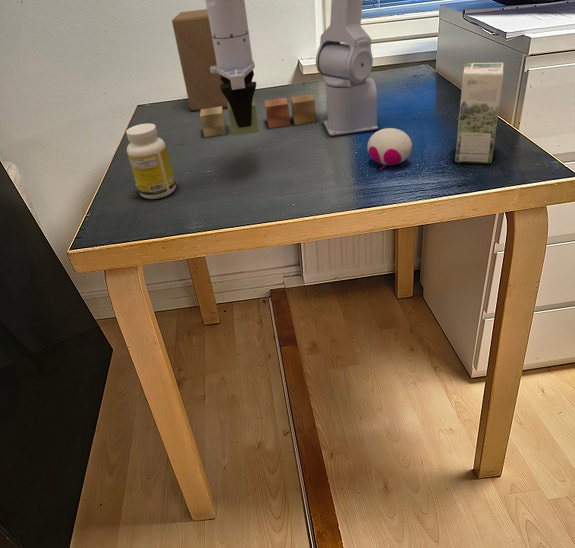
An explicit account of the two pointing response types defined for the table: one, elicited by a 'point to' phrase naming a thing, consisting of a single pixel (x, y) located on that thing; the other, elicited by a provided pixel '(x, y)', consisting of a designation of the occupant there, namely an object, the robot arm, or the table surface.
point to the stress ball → (389, 146)
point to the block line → (274, 111)
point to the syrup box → (479, 112)
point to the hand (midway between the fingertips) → (244, 121)
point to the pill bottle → (150, 162)
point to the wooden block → (198, 60)
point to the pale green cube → (243, 130)
